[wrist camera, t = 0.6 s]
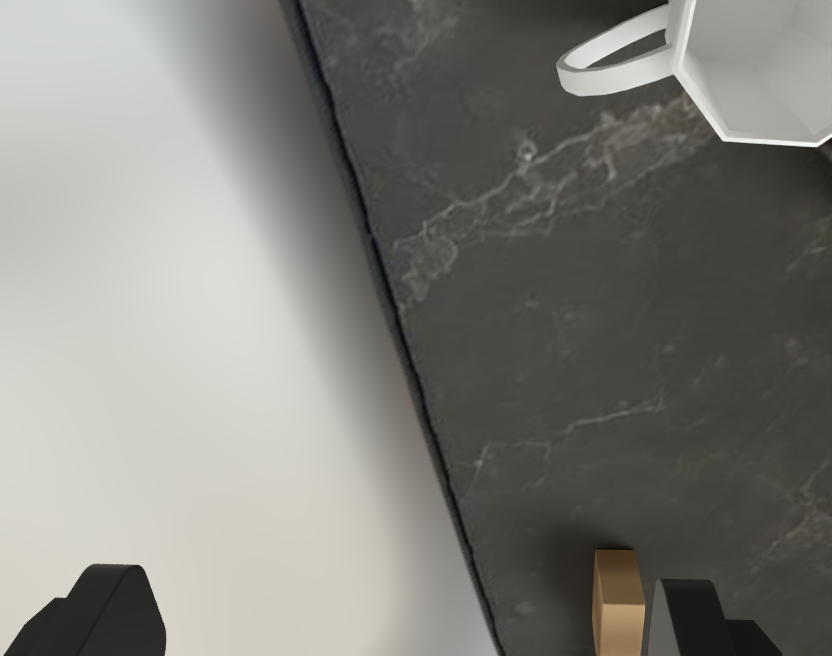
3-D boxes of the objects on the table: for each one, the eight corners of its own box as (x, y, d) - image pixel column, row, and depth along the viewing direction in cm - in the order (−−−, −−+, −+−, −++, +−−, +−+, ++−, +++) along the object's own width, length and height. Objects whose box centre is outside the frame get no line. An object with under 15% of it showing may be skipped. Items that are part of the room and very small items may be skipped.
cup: (839, 55, 27) (953, 108, 20) (575, 140, 30) (596, 212, 23) (820, -155, 24) (947, -177, 17) (527, -40, 27) (535, -19, 20)
